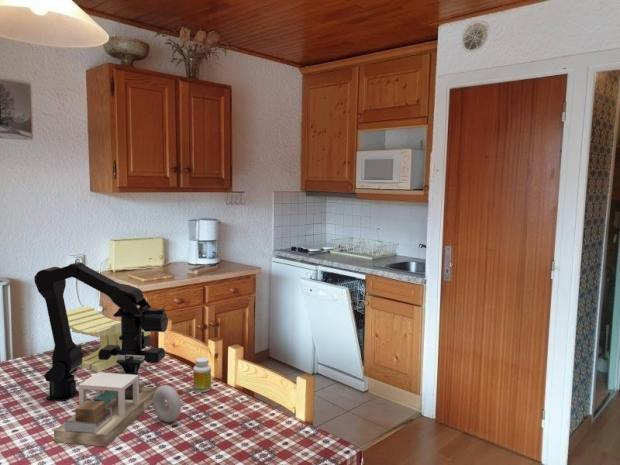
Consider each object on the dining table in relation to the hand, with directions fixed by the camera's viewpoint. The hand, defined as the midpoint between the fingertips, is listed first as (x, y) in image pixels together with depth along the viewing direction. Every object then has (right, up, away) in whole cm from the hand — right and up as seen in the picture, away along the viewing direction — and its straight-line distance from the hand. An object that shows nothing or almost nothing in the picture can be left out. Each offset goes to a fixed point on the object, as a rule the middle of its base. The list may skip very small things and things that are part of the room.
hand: (132, 381), depth 148 cm
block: (-3, -4, -22) cm, 22 cm away
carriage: (-2, -3, -14) cm, 15 cm away
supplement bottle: (+19, -5, +8) cm, 22 cm away
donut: (+14, -7, -13) cm, 21 cm away
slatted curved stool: (-22, -3, +32) cm, 39 cm away
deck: (-2, -7, -12) cm, 14 cm away
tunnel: (-2, -4, -12) cm, 13 cm away
